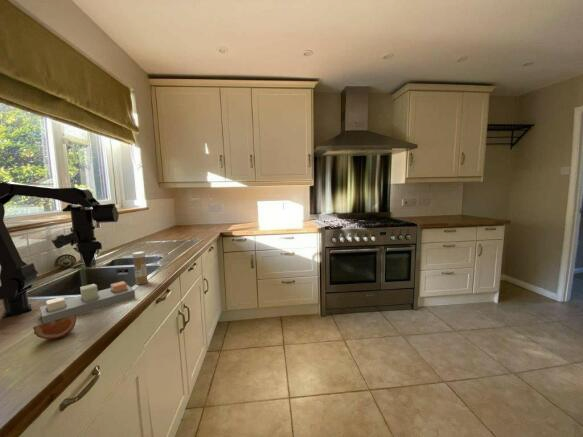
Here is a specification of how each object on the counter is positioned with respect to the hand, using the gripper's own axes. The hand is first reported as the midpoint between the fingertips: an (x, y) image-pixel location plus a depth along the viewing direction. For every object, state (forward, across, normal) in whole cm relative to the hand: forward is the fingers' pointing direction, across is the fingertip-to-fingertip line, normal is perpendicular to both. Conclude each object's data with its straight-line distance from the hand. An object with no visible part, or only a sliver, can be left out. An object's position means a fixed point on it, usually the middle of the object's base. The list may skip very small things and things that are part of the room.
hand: (87, 266), depth 89 cm
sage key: (+10, +6, -1) cm, 12 cm away
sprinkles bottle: (+12, -4, +18) cm, 22 cm away
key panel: (+13, +6, -1) cm, 14 cm away
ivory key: (+12, +6, -10) cm, 17 cm away
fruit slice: (+13, +22, -11) cm, 28 cm away
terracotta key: (+12, +6, +8) cm, 15 cm away
